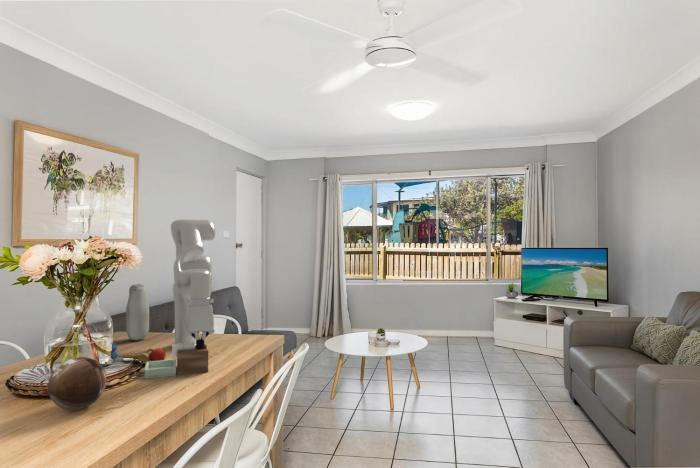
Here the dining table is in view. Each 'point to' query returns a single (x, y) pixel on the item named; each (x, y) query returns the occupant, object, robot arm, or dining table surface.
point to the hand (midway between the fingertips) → (200, 349)
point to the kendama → (148, 355)
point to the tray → (160, 368)
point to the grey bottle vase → (137, 313)
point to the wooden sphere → (77, 383)
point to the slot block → (192, 361)
